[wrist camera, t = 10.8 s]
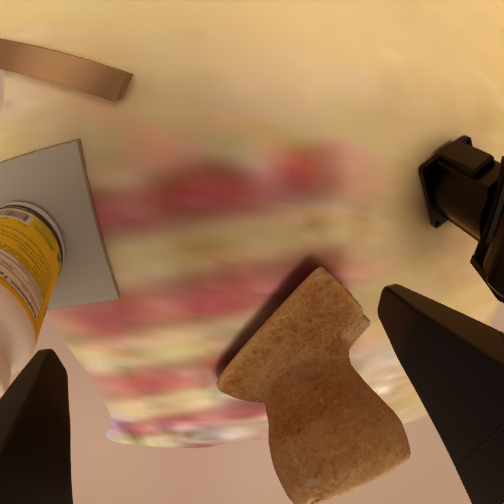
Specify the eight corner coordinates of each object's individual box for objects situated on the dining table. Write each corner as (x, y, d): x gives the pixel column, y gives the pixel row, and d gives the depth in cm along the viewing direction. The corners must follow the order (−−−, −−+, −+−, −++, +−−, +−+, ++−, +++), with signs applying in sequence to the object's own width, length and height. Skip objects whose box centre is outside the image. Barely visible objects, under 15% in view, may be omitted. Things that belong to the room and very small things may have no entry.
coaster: (79, 138, 16) (76, 140, 15) (119, 293, 21) (118, 299, 21) (-53, 183, 14) (-58, 186, 13) (-1, 311, 19) (-3, 316, 19)
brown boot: (288, 398, 34) (337, 514, 21) (197, 375, 28) (232, 531, 15) (387, 303, 29) (478, 420, 17) (308, 250, 24) (428, 420, 11)
